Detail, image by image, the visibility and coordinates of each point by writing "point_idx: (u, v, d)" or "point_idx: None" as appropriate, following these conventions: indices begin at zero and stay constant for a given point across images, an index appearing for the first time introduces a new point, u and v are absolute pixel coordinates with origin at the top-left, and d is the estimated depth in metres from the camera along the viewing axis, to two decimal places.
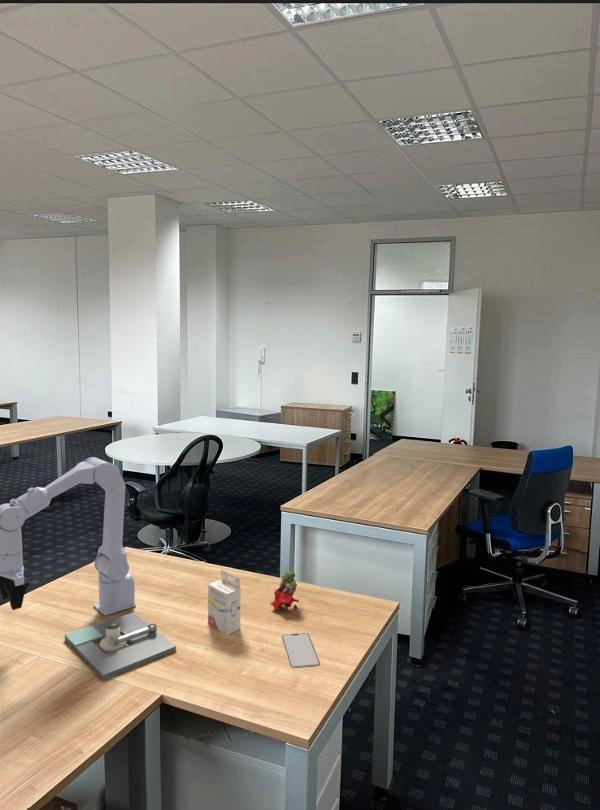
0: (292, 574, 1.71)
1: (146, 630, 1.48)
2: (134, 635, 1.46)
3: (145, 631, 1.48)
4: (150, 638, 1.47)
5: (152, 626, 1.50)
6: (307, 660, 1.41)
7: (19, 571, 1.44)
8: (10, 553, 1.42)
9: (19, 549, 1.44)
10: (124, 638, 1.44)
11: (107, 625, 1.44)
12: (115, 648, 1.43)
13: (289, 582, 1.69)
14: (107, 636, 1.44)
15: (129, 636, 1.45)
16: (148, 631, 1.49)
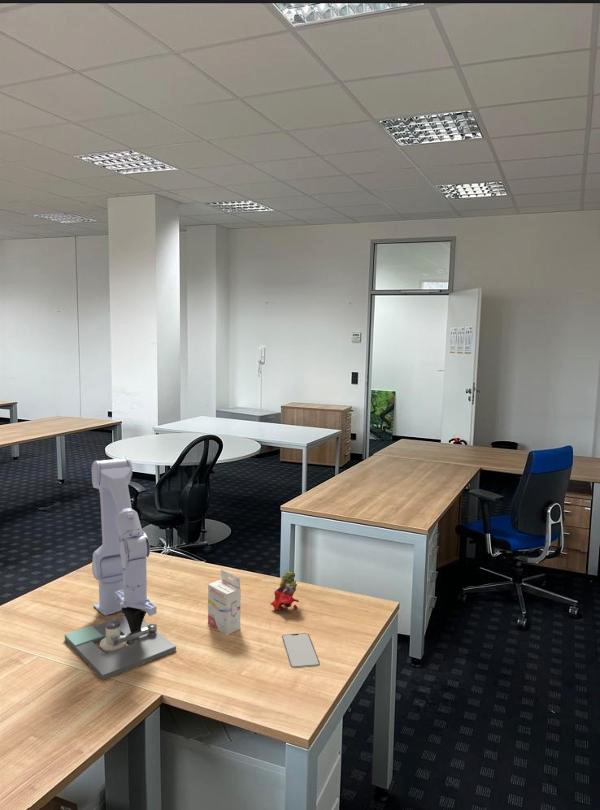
0: (292, 574, 1.71)
1: (146, 630, 1.48)
2: (134, 635, 1.46)
3: (145, 631, 1.48)
4: (150, 638, 1.47)
5: (152, 626, 1.50)
6: (307, 660, 1.41)
7: (146, 601, 1.47)
8: (146, 579, 1.48)
9: None
10: (124, 638, 1.44)
11: (107, 625, 1.44)
12: (115, 648, 1.43)
13: (289, 582, 1.69)
14: (107, 636, 1.44)
15: (129, 636, 1.45)
16: (148, 631, 1.49)
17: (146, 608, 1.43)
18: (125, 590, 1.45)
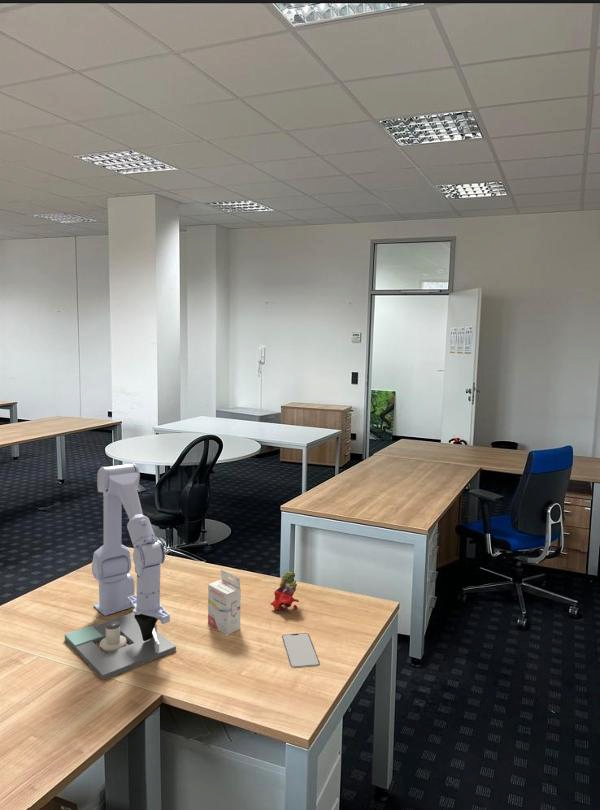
0: (292, 574, 1.71)
1: (154, 630, 1.48)
2: None
3: (154, 631, 1.48)
4: None
5: None
6: (307, 660, 1.41)
7: (159, 608, 1.44)
8: None
9: None
10: None
11: (107, 625, 1.44)
12: (115, 648, 1.43)
13: (289, 582, 1.69)
14: (107, 636, 1.44)
15: (156, 639, 1.44)
16: (154, 631, 1.49)
17: (159, 616, 1.40)
18: (138, 597, 1.42)
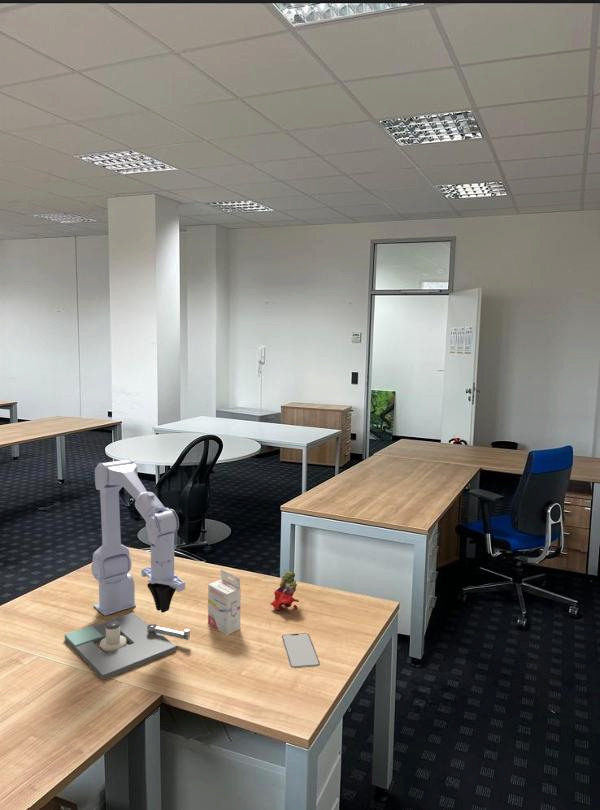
0: (292, 574, 1.71)
1: None
2: None
3: None
4: (150, 638, 1.47)
5: (152, 625, 1.50)
6: (307, 660, 1.41)
7: (174, 577, 1.44)
8: None
9: None
10: None
11: (107, 625, 1.44)
12: (115, 648, 1.43)
13: (289, 582, 1.69)
14: (107, 636, 1.44)
15: None
16: None
17: (175, 584, 1.40)
18: (153, 566, 1.42)
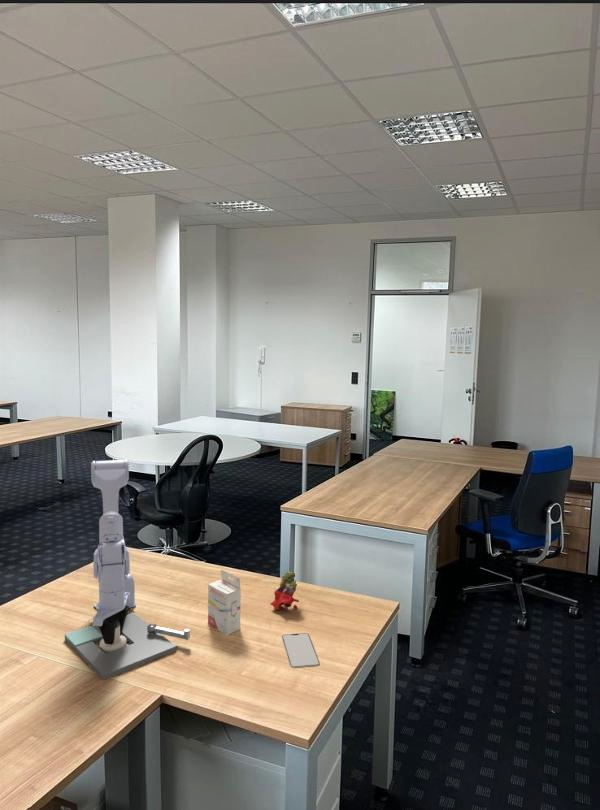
0: (292, 574, 1.71)
1: None
2: None
3: None
4: (150, 638, 1.47)
5: (152, 625, 1.50)
6: (307, 660, 1.41)
7: (111, 611, 1.41)
8: (123, 585, 1.44)
9: None
10: None
11: None
12: (115, 648, 1.43)
13: (289, 582, 1.69)
14: None
15: None
16: None
17: None
18: None
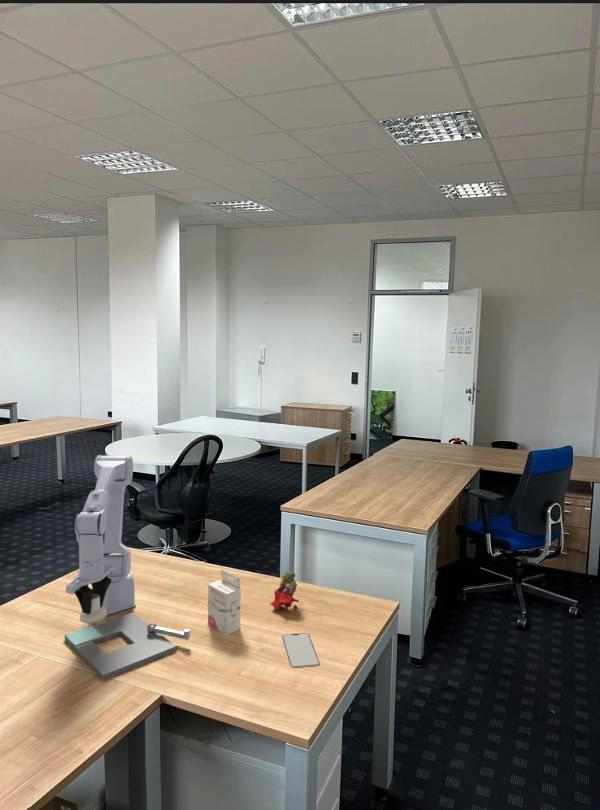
0: (292, 574, 1.71)
1: None
2: None
3: None
4: (150, 638, 1.47)
5: (152, 625, 1.50)
6: (307, 660, 1.41)
7: (87, 581, 1.42)
8: (101, 557, 1.44)
9: None
10: None
11: None
12: (91, 618, 1.43)
13: (289, 582, 1.69)
14: None
15: None
16: None
17: None
18: None
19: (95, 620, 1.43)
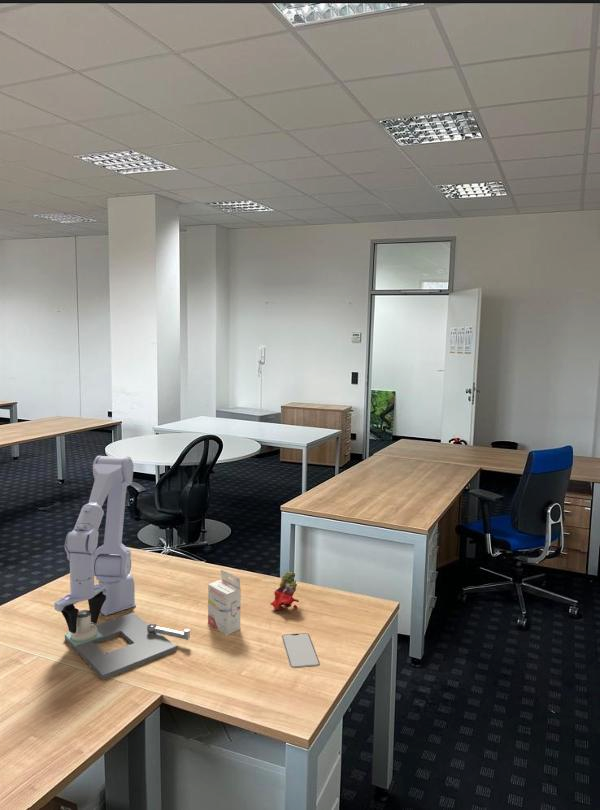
0: (292, 574, 1.71)
1: None
2: None
3: None
4: (150, 638, 1.47)
5: (152, 625, 1.50)
6: (307, 660, 1.41)
7: (75, 599, 1.43)
8: (91, 575, 1.45)
9: None
10: None
11: (78, 613, 1.47)
12: (80, 637, 1.44)
13: (289, 582, 1.69)
14: (77, 624, 1.46)
15: None
16: None
17: None
18: None
19: (83, 639, 1.45)
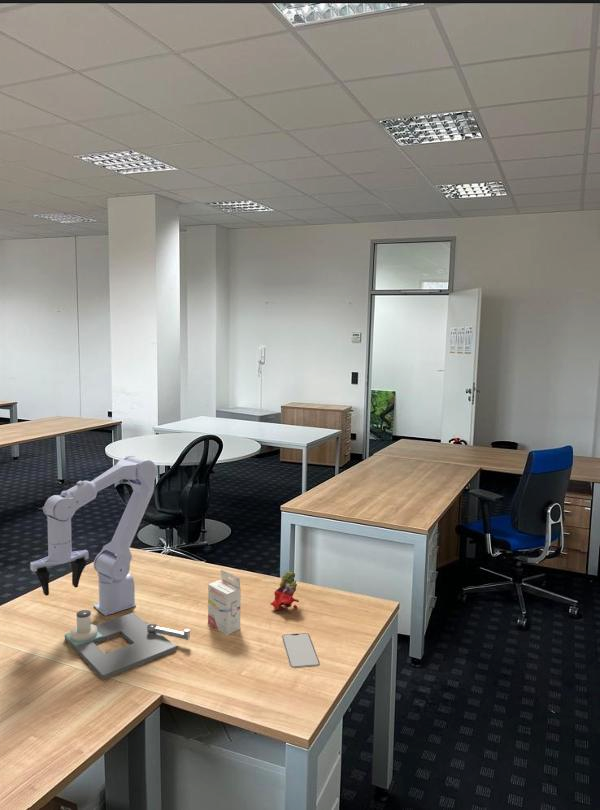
0: (292, 574, 1.71)
1: None
2: None
3: None
4: (150, 638, 1.47)
5: (152, 625, 1.50)
6: (307, 660, 1.41)
7: (51, 561, 1.49)
8: (62, 542, 1.49)
9: (70, 538, 1.51)
10: None
11: (78, 613, 1.47)
12: (80, 637, 1.44)
13: (289, 582, 1.69)
14: (77, 624, 1.46)
15: None
16: None
17: None
18: None
19: (83, 639, 1.45)
